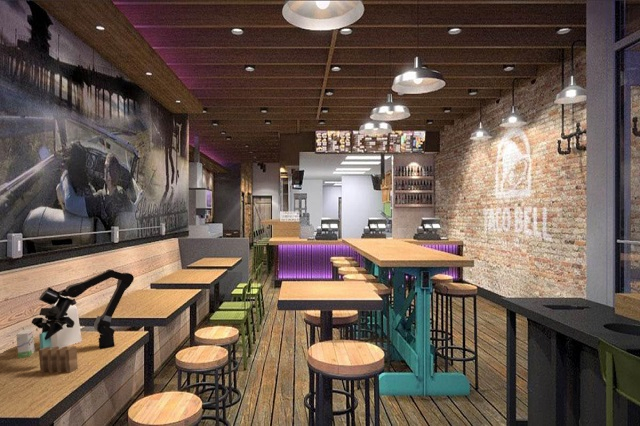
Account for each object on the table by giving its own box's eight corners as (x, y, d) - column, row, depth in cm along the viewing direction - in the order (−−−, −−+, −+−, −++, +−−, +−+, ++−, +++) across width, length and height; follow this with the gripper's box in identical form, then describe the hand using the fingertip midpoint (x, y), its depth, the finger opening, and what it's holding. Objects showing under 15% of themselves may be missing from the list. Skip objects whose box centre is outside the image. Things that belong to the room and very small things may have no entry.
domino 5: (67, 372, 179) (65, 349, 179) (74, 368, 183) (72, 346, 183) (70, 372, 179) (68, 349, 179) (77, 368, 183) (76, 346, 183)
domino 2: (40, 372, 181) (38, 350, 181) (48, 368, 186) (46, 346, 186) (43, 372, 181) (41, 350, 181) (51, 368, 185) (50, 346, 185)
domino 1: (40, 356, 187) (39, 333, 187) (48, 352, 192) (47, 331, 192) (43, 356, 187) (42, 333, 187) (51, 352, 191) (50, 331, 191)
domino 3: (49, 372, 181) (47, 350, 181) (57, 368, 185) (55, 346, 185) (52, 372, 180) (50, 350, 180) (60, 368, 185) (58, 346, 185)
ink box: (29, 356, 205) (27, 332, 205) (17, 358, 204) (15, 334, 204) (35, 351, 213) (33, 328, 213) (23, 353, 212) (22, 330, 212)
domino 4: (58, 372, 180) (56, 349, 180) (65, 368, 184) (64, 346, 184) (61, 372, 180) (59, 349, 179) (69, 368, 184) (67, 346, 184)
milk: (71, 339, 231) (68, 292, 231) (81, 341, 225) (78, 294, 224) (48, 345, 222) (44, 297, 221) (57, 348, 215) (53, 298, 215)
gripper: (32, 300, 195) (13, 331, 184) (67, 299, 192) (50, 330, 181) (48, 312, 203) (30, 342, 192) (81, 311, 200) (65, 342, 189)
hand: (43, 339), depth 189 cm, fingers closed on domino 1, 2 cm apart
